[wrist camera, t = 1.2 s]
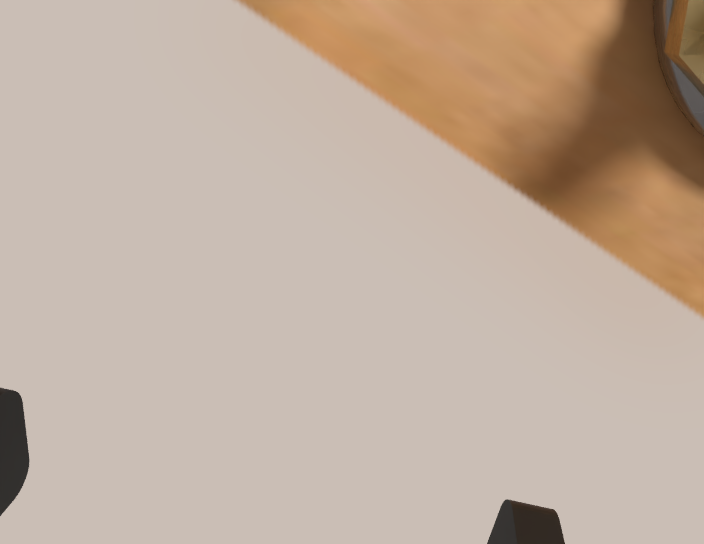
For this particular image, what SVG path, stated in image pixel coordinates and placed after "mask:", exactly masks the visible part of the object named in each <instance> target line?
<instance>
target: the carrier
mask: <svg viewBox="0 0 704 544" xmlns="http://www.w3.org/2000/svg"><path fill="white" fill-rule="evenodd" d="M672 2H673V0H654V6H653V10H654V36H655V41H656V47H657V52H658V58H659V63H660V66H661V68H662V71H663V74H664V77H665V80H666V83H667V86H668V88H669V90H670V92H671V94H672V96H673V97H674V99H675V101H676V103H677V105H678V107H679V108H680V110H681V111H682V112H683V114H684V115H685V116H686V118H687V119H688V120H689V122H690V123H691V124H692V126H693V127H694V128H696V129H697V130H698V131H699V132H700V133H701V134H702V135H703V136H704V97H703V96H702V95H701V94H700V92H699V91H698V90H697V89H696V88H695V87H694V86H693V84H692V83H691V82H690V81H689V80H688V79H687V77H686V76H685V75H684V74H683V73H682V72H681V70H680V69H679V68H678V67H677V66H676V65H675V64H674V62H673V61H672V60H671V59H670V58H669V57H668V55H667V54H666V53H665V52H664V50H665V44H666V38H667V32H668V26H669V20H670V14H671V8H672Z"/></svg>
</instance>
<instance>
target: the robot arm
mask: <svg viewBox="0 0 704 544" xmlns="http://www.w3.org/2000/svg"><path fill="white" fill-rule="evenodd" d="M28 467H29V453H28V444H27V436H26V428H25V419H24V411H23V402H22V398H21V396H20V395H19V393H18V392H16V391H13V390H8V389H4V388H0V516H1V514H2V513H3V512H4V511H5V510H6V509H7V507H8V506H9V505H10V504H11V503H12V501H13V500H14V499H15V497H16V496H17V495H18V493H19V492H20V490H21V488H22V486H23V483H24V481H25V479H26V476H27V472H28ZM487 544H565V542H564V538H563V534H562V529H561V525H560V521H559V517H558V515H557V513H556V511H555V510H553V509H549V508H544V507H539V506H535V505H530V504H526V503H521V502H516V501H512V500H505V501H504V502H503V504H502V506H501V508H500V511H499V513H498V516H497V519H496V521H495V524H494V527H493V529H492V532H491V535H490V537H489V540H488V543H487Z"/></svg>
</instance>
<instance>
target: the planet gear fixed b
mask: <svg viewBox="0 0 704 544" xmlns="http://www.w3.org/2000/svg"><path fill="white" fill-rule="evenodd" d="M664 52H665V53H666V54H667V55H668V57H669V58H670V59H671V60H672V61H673V62H674V64H675V65H676V66H677V67H678V68H679V69H680V70H681V72H682V73H683V74H684V75H685V76H686V77H687V79H688V80H689V81H690V82H691V83H692V84H693V86H694V87H695V88H696V89H697V90H698V91H699V92H700V94H701V95H702V96H703V97H704V0H673V2H672V8H671V14H670V20H669V26H668V32H667V38H666V44H665V50H664Z"/></svg>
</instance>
